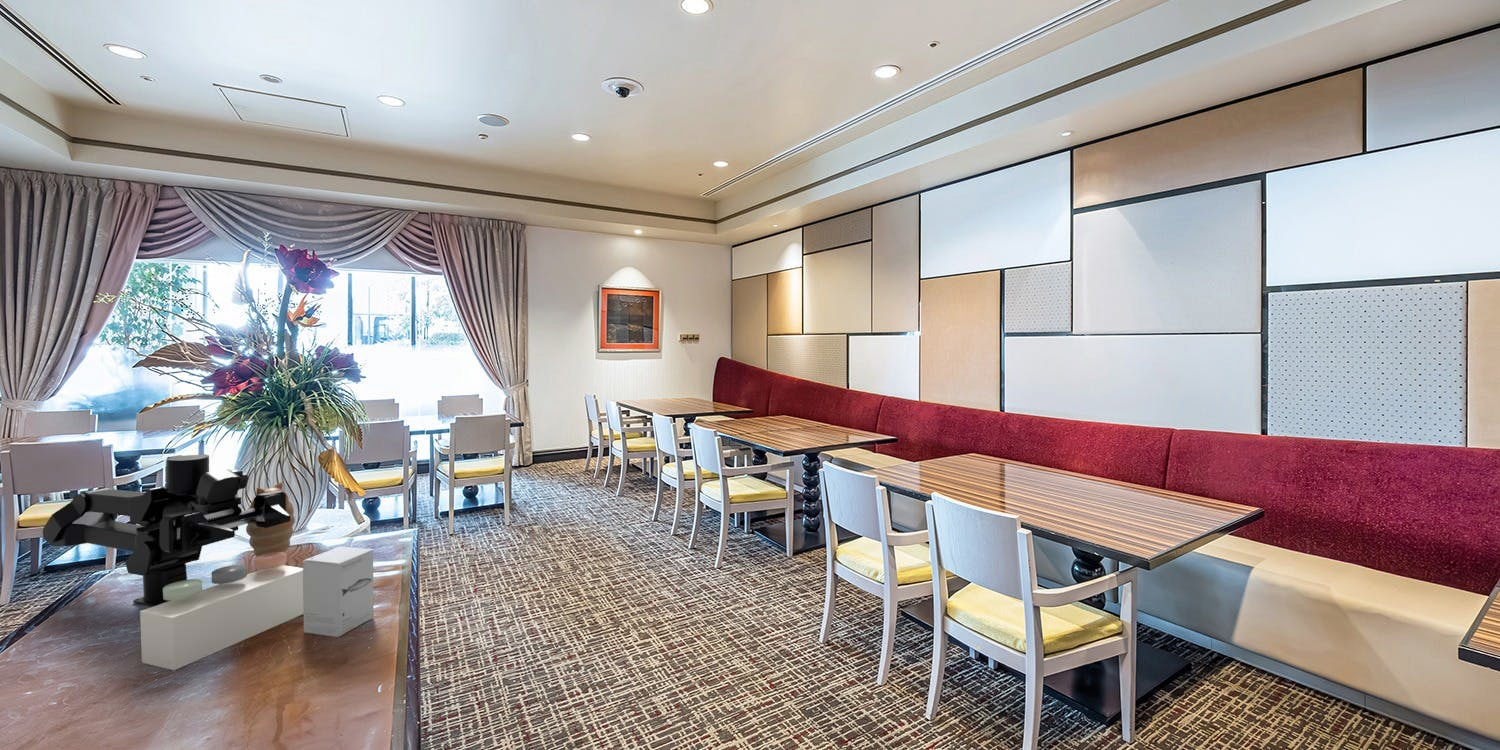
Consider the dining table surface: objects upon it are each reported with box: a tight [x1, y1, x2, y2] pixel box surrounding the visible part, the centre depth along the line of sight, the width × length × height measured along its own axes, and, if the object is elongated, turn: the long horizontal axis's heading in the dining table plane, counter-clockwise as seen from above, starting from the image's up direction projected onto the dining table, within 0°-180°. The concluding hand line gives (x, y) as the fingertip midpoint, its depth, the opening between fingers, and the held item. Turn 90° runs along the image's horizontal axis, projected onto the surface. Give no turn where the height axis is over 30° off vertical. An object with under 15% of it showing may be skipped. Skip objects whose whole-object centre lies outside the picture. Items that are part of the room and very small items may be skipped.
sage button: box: [163, 578, 203, 600], centre depth 92 cm, size 4×4×2 cm
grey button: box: [210, 564, 248, 585], centre depth 98 cm, size 4×4×2 cm
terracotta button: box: [253, 552, 287, 570], centre depth 105 cm, size 4×4×2 cm
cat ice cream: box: [245, 482, 296, 557], centre depth 126 cm, size 9×8×18 cm
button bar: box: [139, 564, 304, 671], centre depth 98 cm, size 7×20×8 cm, turn 164°
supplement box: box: [302, 546, 375, 638], centre depth 102 cm, size 7×7×13 cm
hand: (262, 526), depth 104 cm, fingers open, 9 cm apart
